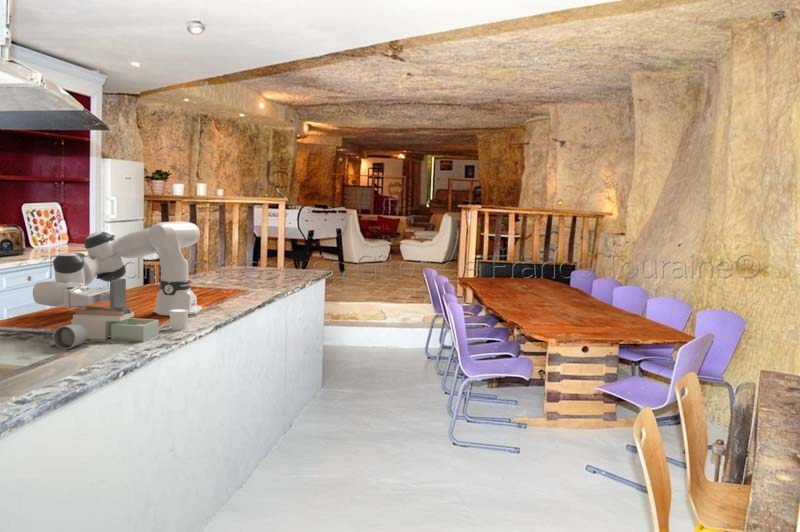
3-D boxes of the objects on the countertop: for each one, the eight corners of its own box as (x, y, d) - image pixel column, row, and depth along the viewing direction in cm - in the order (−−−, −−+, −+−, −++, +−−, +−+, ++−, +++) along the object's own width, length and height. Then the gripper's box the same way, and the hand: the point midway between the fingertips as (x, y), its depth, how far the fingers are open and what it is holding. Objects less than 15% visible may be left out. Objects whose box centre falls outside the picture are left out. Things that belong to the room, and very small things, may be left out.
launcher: (90, 330, 237) (90, 305, 236) (135, 333, 235) (135, 307, 234) (71, 337, 225) (71, 310, 224) (118, 340, 223) (118, 313, 222)
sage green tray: (127, 332, 235) (127, 318, 235) (158, 334, 234) (158, 319, 234) (111, 339, 224) (111, 324, 223) (143, 341, 223) (143, 326, 222)
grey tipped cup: (89, 344, 216) (88, 321, 216) (75, 350, 208) (74, 326, 207) (58, 343, 217) (58, 320, 216) (43, 348, 209) (43, 325, 208)
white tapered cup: (182, 330, 242) (182, 312, 242) (165, 329, 244) (165, 311, 243) (191, 327, 249) (191, 309, 248) (175, 325, 250) (175, 308, 250)
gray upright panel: (121, 311, 233) (121, 278, 231) (131, 311, 232) (131, 278, 231) (110, 315, 225) (109, 281, 223) (119, 316, 224) (119, 281, 223)
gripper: (94, 299, 240) (130, 301, 239) (61, 308, 220) (100, 310, 218) (94, 282, 239) (130, 284, 238) (61, 290, 219) (100, 292, 218)
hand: (115, 297), depth 228 cm, fingers closed, pressing on gray upright panel
